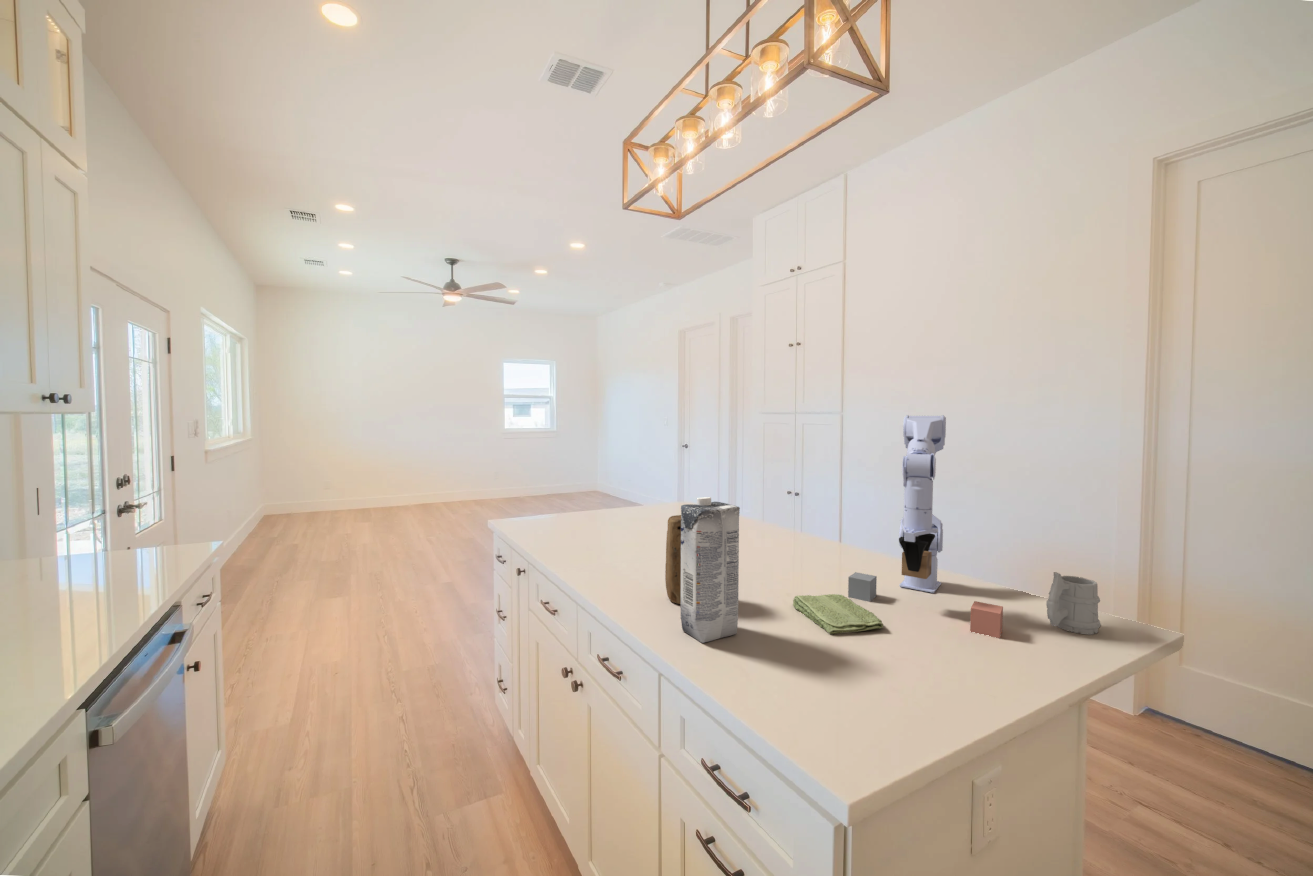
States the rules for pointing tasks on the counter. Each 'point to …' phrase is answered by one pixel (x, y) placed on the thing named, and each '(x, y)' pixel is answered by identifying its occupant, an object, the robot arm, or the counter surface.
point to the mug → (1073, 604)
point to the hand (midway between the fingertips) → (916, 567)
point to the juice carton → (709, 569)
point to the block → (673, 559)
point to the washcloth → (836, 613)
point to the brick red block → (986, 619)
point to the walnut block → (924, 568)
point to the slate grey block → (862, 586)
